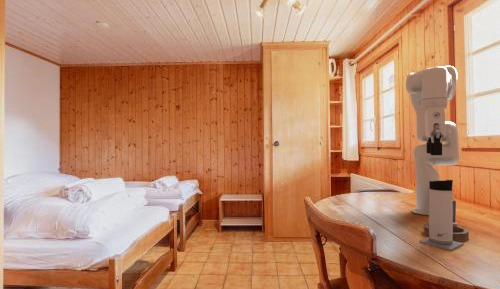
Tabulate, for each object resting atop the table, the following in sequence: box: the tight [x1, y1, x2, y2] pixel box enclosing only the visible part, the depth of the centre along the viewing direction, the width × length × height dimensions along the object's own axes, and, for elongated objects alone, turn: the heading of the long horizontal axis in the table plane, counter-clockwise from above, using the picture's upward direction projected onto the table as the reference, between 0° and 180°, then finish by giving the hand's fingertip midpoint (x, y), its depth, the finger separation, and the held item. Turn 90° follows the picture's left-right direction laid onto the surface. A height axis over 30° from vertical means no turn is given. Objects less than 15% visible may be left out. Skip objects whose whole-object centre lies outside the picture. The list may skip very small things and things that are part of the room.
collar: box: [423, 222, 470, 242], centre depth 100 cm, size 14×12×3 cm
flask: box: [453, 199, 457, 223], centre depth 113 cm, size 10×3×12 cm, turn 121°
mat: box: [418, 236, 464, 252], centre depth 92 cm, size 9×9×1 cm
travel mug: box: [428, 179, 454, 245], centre depth 92 cm, size 6×7×20 cm
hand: (433, 154), depth 100 cm, fingers open, 9 cm apart
